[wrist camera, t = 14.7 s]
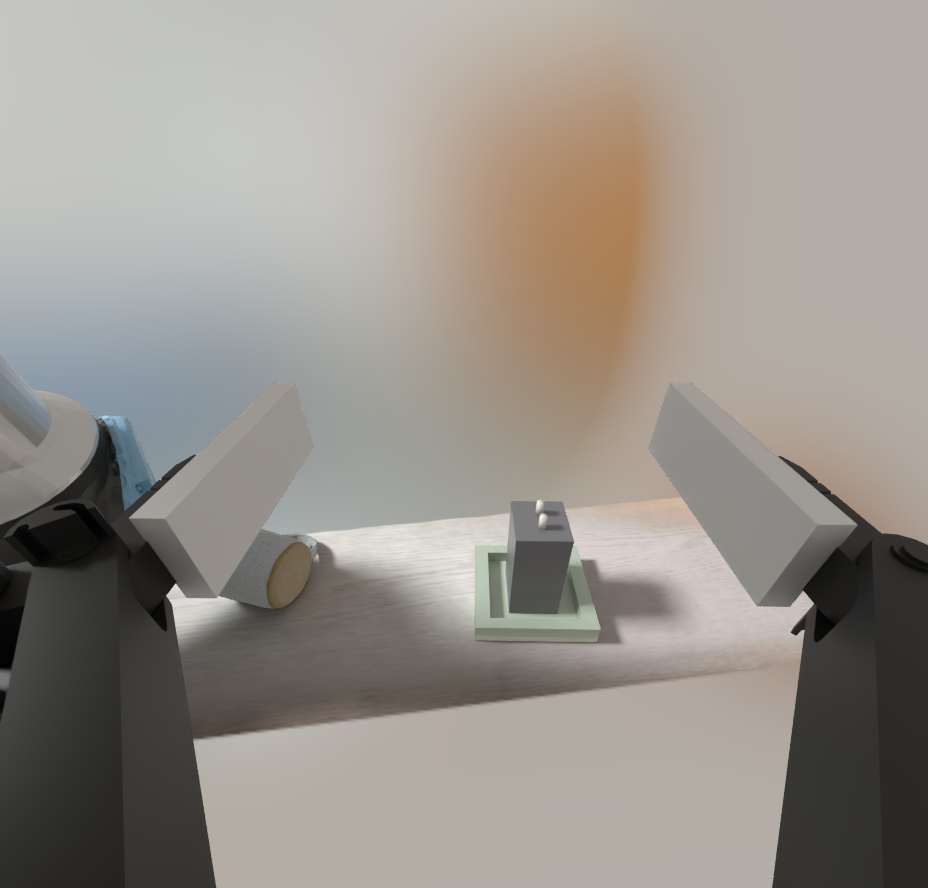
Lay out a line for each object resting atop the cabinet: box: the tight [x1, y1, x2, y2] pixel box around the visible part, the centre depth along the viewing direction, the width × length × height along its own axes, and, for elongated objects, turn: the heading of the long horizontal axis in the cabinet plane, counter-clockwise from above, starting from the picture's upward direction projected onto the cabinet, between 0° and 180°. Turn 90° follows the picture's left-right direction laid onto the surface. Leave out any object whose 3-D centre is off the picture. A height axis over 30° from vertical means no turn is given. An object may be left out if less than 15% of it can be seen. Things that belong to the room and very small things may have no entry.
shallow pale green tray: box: [475, 546, 601, 642], centre depth 40 cm, size 12×10×2 cm
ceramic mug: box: [219, 529, 317, 608], centre depth 41 cm, size 11×8×8 cm
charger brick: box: [505, 500, 574, 614], centre depth 37 cm, size 5×5×12 cm
